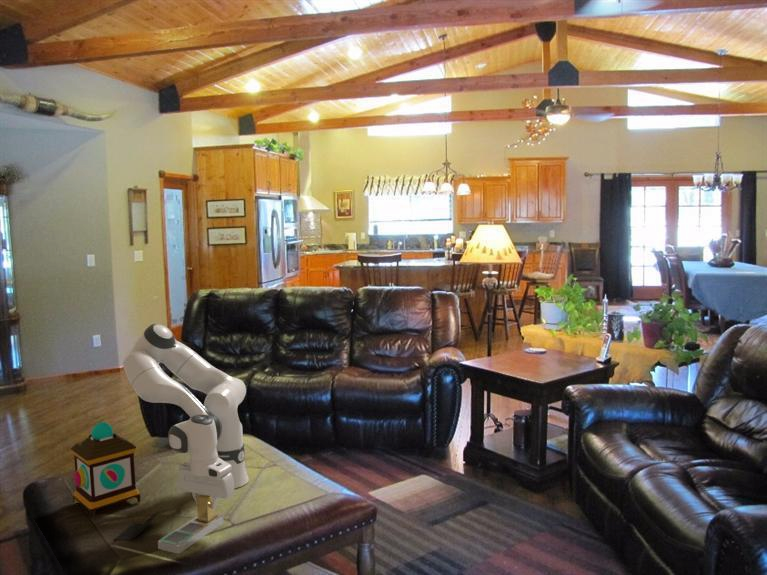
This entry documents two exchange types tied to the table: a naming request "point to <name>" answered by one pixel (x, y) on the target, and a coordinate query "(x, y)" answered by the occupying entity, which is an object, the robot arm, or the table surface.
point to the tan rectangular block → (205, 508)
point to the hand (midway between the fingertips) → (206, 506)
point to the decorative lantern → (104, 469)
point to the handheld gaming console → (134, 530)
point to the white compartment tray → (188, 534)
